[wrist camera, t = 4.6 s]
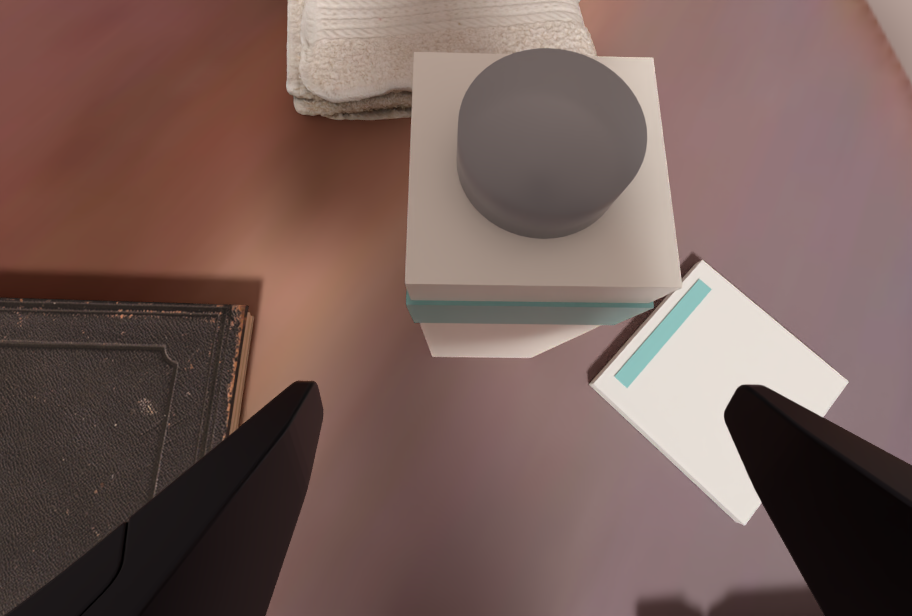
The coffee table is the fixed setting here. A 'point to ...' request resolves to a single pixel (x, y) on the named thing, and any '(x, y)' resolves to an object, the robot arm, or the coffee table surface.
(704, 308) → the mat
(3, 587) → the hardcover book
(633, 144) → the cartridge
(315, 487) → the coffee table surface
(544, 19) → the washcloth
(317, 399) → the robot arm
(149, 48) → the coffee table surface
